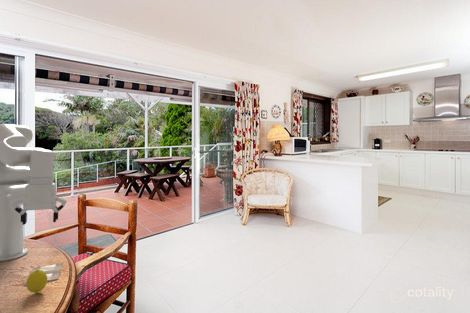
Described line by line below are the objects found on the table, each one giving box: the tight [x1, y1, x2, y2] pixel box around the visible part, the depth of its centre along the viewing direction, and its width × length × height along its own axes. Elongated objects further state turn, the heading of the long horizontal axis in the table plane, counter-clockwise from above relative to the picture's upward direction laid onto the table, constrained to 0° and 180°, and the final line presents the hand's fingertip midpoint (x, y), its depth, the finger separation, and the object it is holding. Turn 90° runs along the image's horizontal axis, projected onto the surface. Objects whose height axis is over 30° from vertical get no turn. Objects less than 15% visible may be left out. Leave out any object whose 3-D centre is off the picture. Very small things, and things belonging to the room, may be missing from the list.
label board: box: [23, 262, 64, 287], centre depth 95 cm, size 14×10×1 cm
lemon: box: [25, 270, 48, 294], centre depth 83 cm, size 6×6×8 cm
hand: (40, 222), depth 98 cm, fingers open, 9 cm apart
